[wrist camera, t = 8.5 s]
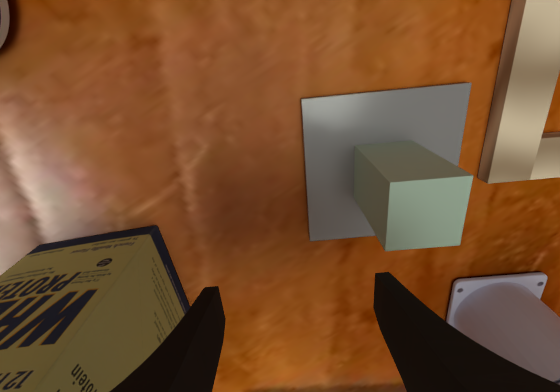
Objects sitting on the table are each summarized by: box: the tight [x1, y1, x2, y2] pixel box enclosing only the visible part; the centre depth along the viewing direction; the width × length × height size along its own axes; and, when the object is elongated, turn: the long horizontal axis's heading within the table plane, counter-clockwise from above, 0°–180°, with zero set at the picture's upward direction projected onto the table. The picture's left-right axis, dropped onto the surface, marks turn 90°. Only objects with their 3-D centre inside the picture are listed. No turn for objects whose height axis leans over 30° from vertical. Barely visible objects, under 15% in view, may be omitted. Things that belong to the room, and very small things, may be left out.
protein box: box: [0, 225, 190, 392], centre depth 20 cm, size 10×16×16 cm
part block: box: [354, 141, 473, 251], centre depth 18 cm, size 4×4×7 cm
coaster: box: [301, 82, 471, 241], centre depth 22 cm, size 11×11×1 cm
